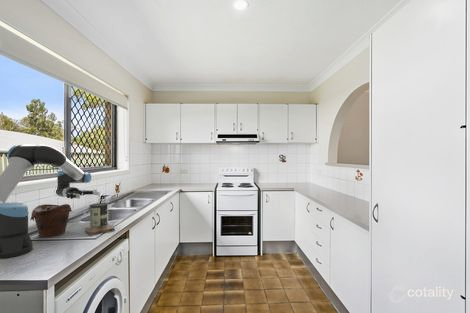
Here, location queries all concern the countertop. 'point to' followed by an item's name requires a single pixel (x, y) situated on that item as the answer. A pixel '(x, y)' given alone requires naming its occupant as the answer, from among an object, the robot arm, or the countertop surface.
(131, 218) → the countertop surface
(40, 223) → the brown clay flowerpot
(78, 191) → the robot arm
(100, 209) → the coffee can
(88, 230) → the walnut board
